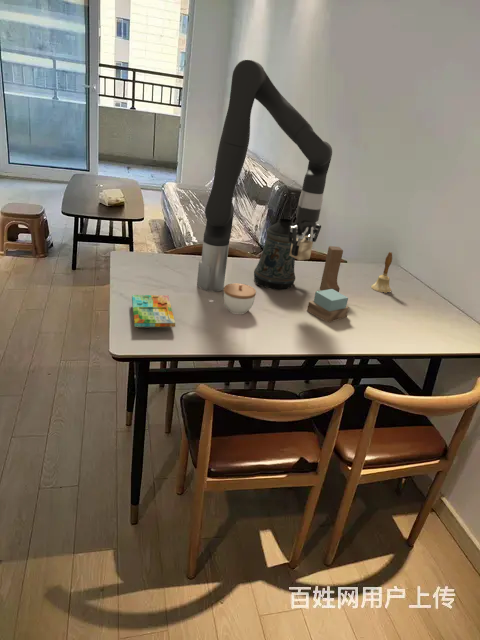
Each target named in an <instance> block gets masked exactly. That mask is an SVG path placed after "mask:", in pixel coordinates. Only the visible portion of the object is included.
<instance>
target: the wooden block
mask: <svg viewBox="0 0 480 640" xmlns="http://www.w3.org/2000/svg"><path fill="white" fill-rule="evenodd" d="M343 253H344V250H343V249H342V248H341V247H340V246H332V245H329V246H328V249H327V254H326V259H325V263H324V266H323V267H324V268H323V271H322V277H321V281H320V285H319V286H320V287H319V291H322V290H328V289H333V290H335V291H337V292H339V293H340V286H339V285H338V275H339V271H340V266H341V262H342V257H343Z"/></svg>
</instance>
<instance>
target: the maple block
mask: <svg viewBox="0 0 480 640" xmlns="http://www.w3.org/2000/svg"><path fill="white" fill-rule="evenodd" d="M292 240H293V239H292ZM296 241H298V238H297V240H296ZM313 243H314V242H312V241H309V240H307V239H305V237H304V238H303V240H301V242H300V244H299V250H298V255H297V256H294V255H292V253H291V251H292V246H293V244H291V249H290V254H289V256H291V257H293V258H295V260H298V261H305V260H310V258H311V253H312V248H313V245H314V244H313Z"/></svg>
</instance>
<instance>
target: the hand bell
mask: <svg viewBox="0 0 480 640" xmlns="http://www.w3.org/2000/svg"><path fill="white" fill-rule="evenodd" d="M392 262H393V252H391V251H389V252H388V253H387V255H386V257H385V261H384V269H383V273H382V274H380V275H379V276H378V278H377V280H376V281H375V283H373V284H372V285H371V286H370V288H371V290H374V291H375V292H379V293H382V292H384V293H383V294H388V293H387V292H390V291H391V292H392V289H391V287H390V277H389V276H388V273H389V268H390V266H391V264H392ZM391 292H390V293H391Z"/></svg>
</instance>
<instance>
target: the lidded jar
mask: <svg viewBox="0 0 480 640" xmlns="http://www.w3.org/2000/svg"><path fill="white" fill-rule="evenodd" d="M256 293H257V291H256V289H255V287H252V286H251V285H248V284H244V283H233V282H232V283H228V284H226V285H224V289H223V303H224V305H225V308H226V309H227V310H228V312H230V313H232V314H235V315H244V314H246V313H247V312H248V311H249V310H250V309H251V308H252V306H253V305H254V302H255V299H256V295H257V294H256Z"/></svg>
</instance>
